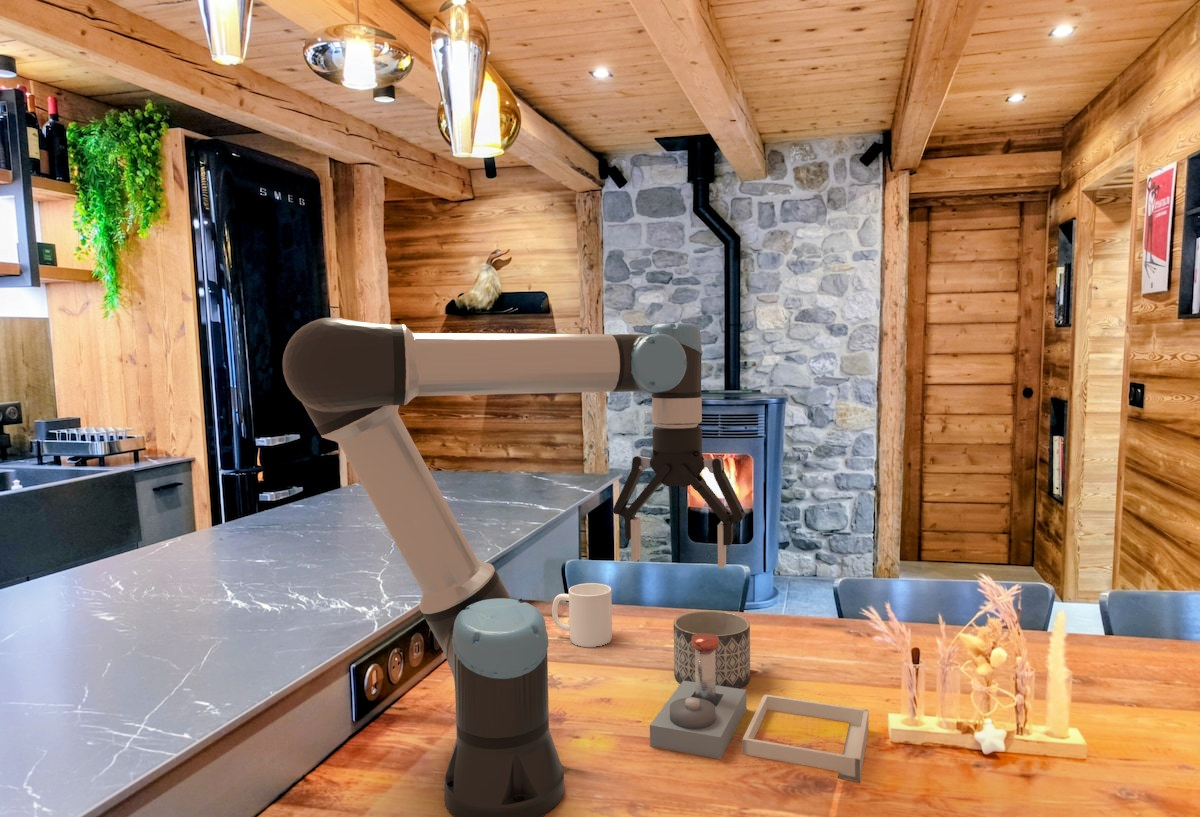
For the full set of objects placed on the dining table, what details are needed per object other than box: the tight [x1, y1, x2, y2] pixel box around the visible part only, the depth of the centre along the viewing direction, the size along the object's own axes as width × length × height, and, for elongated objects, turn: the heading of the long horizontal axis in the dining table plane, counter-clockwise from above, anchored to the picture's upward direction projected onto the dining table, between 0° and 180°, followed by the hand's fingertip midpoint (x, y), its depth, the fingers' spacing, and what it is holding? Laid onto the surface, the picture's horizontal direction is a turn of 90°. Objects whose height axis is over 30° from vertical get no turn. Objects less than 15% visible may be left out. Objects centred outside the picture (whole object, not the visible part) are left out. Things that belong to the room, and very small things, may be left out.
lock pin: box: [692, 633, 719, 706], centre depth 117 cm, size 4×4×12 cm
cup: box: [551, 582, 613, 648], centre depth 153 cm, size 8×12×10 cm
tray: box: [741, 693, 870, 783], centre depth 111 cm, size 15×15×3 cm
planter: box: [673, 609, 751, 689], centre depth 132 cm, size 13×13×10 cm
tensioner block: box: [649, 681, 747, 760], centre depth 114 cm, size 16×10×7 cm, turn 157°
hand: (678, 562), depth 121 cm, fingers open, 13 cm apart
